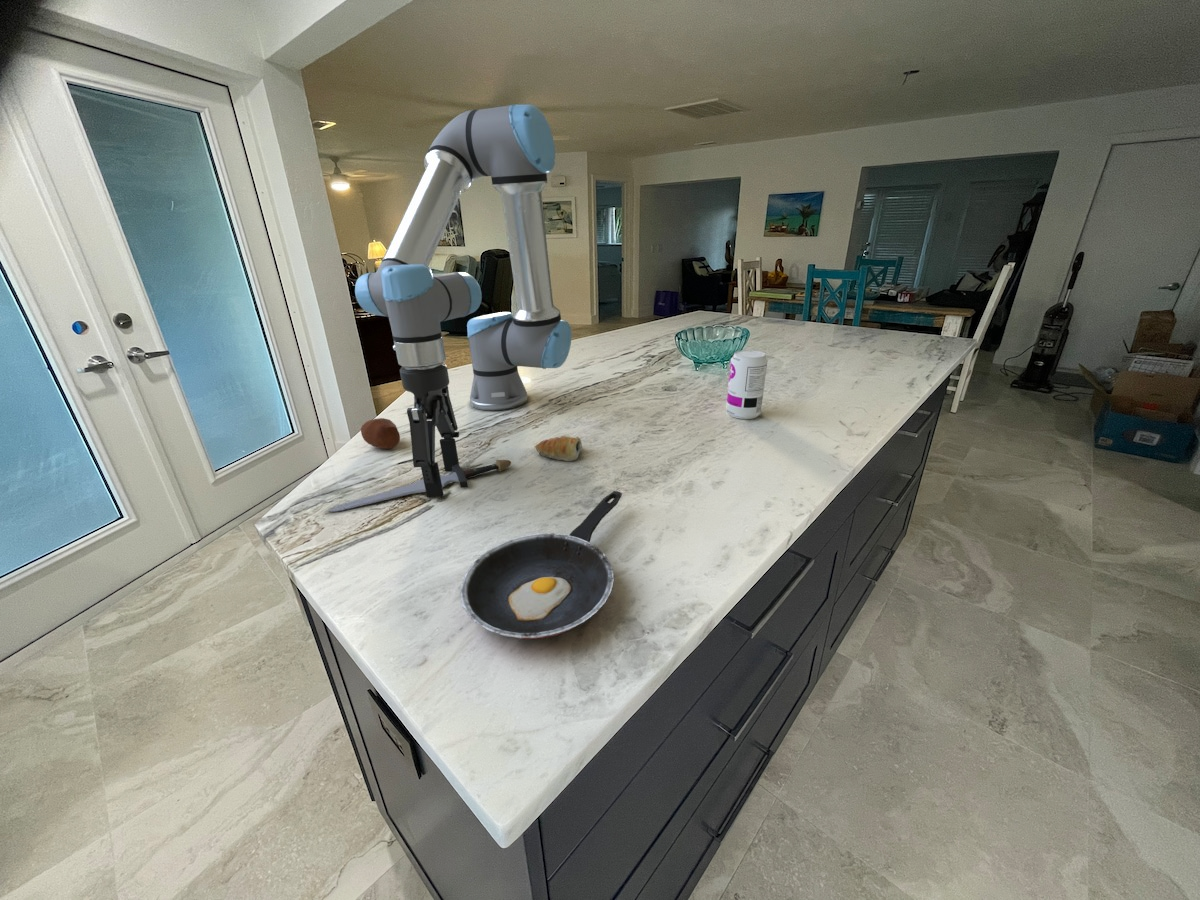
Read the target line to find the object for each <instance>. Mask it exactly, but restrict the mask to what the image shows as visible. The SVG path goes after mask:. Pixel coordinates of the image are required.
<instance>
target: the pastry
mask: <svg viewBox="0 0 1200 900" xmlns="http://www.w3.org/2000/svg"><path fill="white" fill-rule="evenodd" d="M535 449H536V452H537V453H538V454H539V455H541V456H543V457H544V458H549V459H553V460H557V461H565V462H572V461H576V460H577V459H578V457H579V455H580V452H582V450H583V443H582V440H581V438H580V437H579V436H576V437H571V436H565V435H562V436H560V437H559V436H558V437H557V436H556V437H550V438H548V439H544V440H541V441H540V442H538V443H537V444H535Z"/></svg>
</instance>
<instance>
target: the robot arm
mask: <svg viewBox="0 0 1200 900" xmlns="http://www.w3.org/2000/svg"><path fill="white" fill-rule="evenodd" d="M555 160H556V147H555V141H554V136H553V133H552V130H551V127H550V124H549V122H548V120H547V119H546V116H545V115H544V113H543V112H542V111H541V110H540V109H539V108H538V107H537V106H535V105H533V104H517V103H515V104H510V105H502V106H495V107H488V108H480V109H469V110H466V111H464V112H461V113H460V114H458V115H457V116H455V117H453V118H452V119H451V120H450V121H449V122H448V123H446V125H445V126H444V127H443V128H442V129H441V130H440V132H439V133H438V134H437V135H436V137H435V138H434V140H433V142H432V143H431V144H430V146H429V148H428V150H427V152H426V154H425V157H424V159H423V165H424V168H425V170H424V171H423V174H422V176H421V177H420V180H419V182H418V184H417V186H416V189H415V191H414V193H413V194H412V197H411V198H410V201H409V202H408V205H407V207H406V209H405V211H404V213H403V215H402V218H401V220H400V222H399V224H398V226H397V228H396V230H395V232H394V234H393V236H392V239H391V240H390V243H389V244H388V246H387V249H386V251H385V253H384V256H383V257H382V258H381V259H382V260H381V262H380V264H379V266H378V268H377V269H376V272H375V271H373V272H368V273H363V274H362V275H360V276H358V278H357V280H356V281H355V286H354V294H355V299H356V302H357V303H358V305H359V306H360V308H361V309H362V310H363V311H365V312H366V313H368V314H370V315H374V316H380V317H387V318H388V321H389V325H390V328H391V333H392V340H393V345H392V349H393V351H395V354H396V359H397V363H398V365H399V366H401V367H400V369H399V374H400V379H401V380H400V381H401V386H402V389H403V390H404V391H406V392H410V393H412V394H413V401H414V402H413V407H408V408H407V409H406V415H407V418H408V422H409V432H410V442H411V443H410V444H411V454H412V464H413V467H414V468H420V470H421V474H422V479H423V480H424V485H425V489H426V492H425V494H426V498H443V497H444V489H443V487H442V483H441V478H440V475H441V474H440V473H441V472H440V468H439V463H438V462H437V461H436V429H437V431H438V433H439V435H440V437H441V438H440V439H439V445H440V450H441V451H440V452H441V457H442V462H443V467H444V471H445V472H453V470H452V466H454V465H456V464H458V465H459V466H460V462H459V455H458V450H457V443H456V438H459V437H460V432H459V431H458V423H457V420H456V415H455V412H454V408H453V405H452V401H451V398H450V391H449V384H450V377H449V372H448V365H447V364H446V363H445V361H446V359H447V356H446V351H445V344H444V339H443V335H442V329H441V323H443V322H446V321H449V320H454V319H458V318H465V317H466V316H468V315H470V314H473V313H475V312H476V311H477V310H478V309H479V308H480V305H481V303H482V297H483V296H482V290H481V287H480V284H479V283H478V281H477V280H476V278H475V277H474V276H472V275H471V274H469V273H467V272H464V271H459V272H458V271H450V272H448V273H432V269H431V267H430V265H431V262H432V259H433V257H434V255H435V252H436V250H437V248H438V246H439V244H440V241H441V239H442V237H443V234H444V232H445V231H446V227H447V226H448V223H449V221H450V219H451V217H452V214H453V212H454V209H455V207H456V205H457V203H458V201H459V198H460V197H461V194H462V193H465V192H467V191H468V190H469V189H470V186H471V184H472V182H473V181H475V180H476V179H479V178H482V177H490V178H491V185H492V187H493V188H494V189H495V190H496V191H497V192H498V193H499V194H500V196H501V203H502V210H503V218H504V223H505V224H504V225H505V231H506V238H507V244H508V252H509V259H510V265H511V272H512V280H513V286H514V294H515V300H516V306H517V307H516V310H515V311H514V312H513V313H512V312H510V311H502V312H501V311H500V312H495V313H489V314H482V315H480V316H476V317H473V318H470V319H469V320H468V321H467V324H466V327H467V328H466V329H467V330H466V331H467V336H466V337H467V339H468V346H469V353H470V360H471V367H472V371H473V372H472V373H473V379H472V384H471V389H470V395H469V400H470V405H471V407H472V408H474V409H476V410H480V411H481V410H482V411H492V412H493V411H505V410H510V409H514V408H517V407H520V406H522V405H524V404H525V403H526V402H528V391H527V389H526V387H525V385H524V382H523V380H522V378H521V376H520V373H519V370H518V367H523V368H524V367H525V368H537V369H538V368H539V369H543V370H545V369H558V368H560V367H562V366H563V365H564V363H565V362H566V361H567V358H568V356H569V353H570V351H571V345H572V328H571V325H570V323H569V322H568V321H566V320H564V319H562V317H561V316H562V315H561V310H560V309H559V308H557V306H555V304H554V299H553V289H552V281H551V280H552V279H551V271H550V261H549V252H548V251H549V250H548V243H547V242H548V241H547V234H546V232H547V231H546V223H545V222H546V221H545V213H544V206H543V205H544V204H543V195H542V194H543V193H542V191H543V189H544V188H545V187H546V185H547V184H548V174H549V173H550V172H552V171H553V170H554V167H555V163H556V161H555Z"/></svg>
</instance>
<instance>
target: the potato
mask: <svg viewBox="0 0 1200 900" xmlns="http://www.w3.org/2000/svg"><path fill="white" fill-rule="evenodd" d="M360 434H361V438H362V439H363V441H364V442H366V443H367V444H369V445H370V446H372V447H375V448H378V449H381V450H389V449H392V448H394V447H396V446H398V444H399V443H400V441H401V435H400V432H399V430H398V427H397V425H396V424H395V423H394V422H393V421H392V420H391V419H388V418H384V417H378V418H373V419H370V420H367V421H366V422H363V424H362V425H361V428H360Z"/></svg>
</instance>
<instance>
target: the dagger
mask: <svg viewBox="0 0 1200 900" xmlns="http://www.w3.org/2000/svg"><path fill="white" fill-rule="evenodd" d="M511 465H512V461H511V460H510V459H496V460H495V462H494V463H492V464H489V465H488V464H487V465H483V466H479V467H475V468H468V469H464V470H463V468H462V467H461V466H460V464H459V465H458V464H456V465H454V466H452V470H453V471H452V473H450V474H447V475H445V474H444V475H442V474H440V478H441V483H442V488H444V487H446V486H447V485H449V484H450V483H459V488H461V489H464V488H469V484H468V483H469V482H468V479H471V478H474V477H477V476H479V475H483V474H485V473H488V472H492V471H495V470H496V471H498V472H502V471H504V470H506V469H507V468H509V467H510V466H511ZM419 493H426V489H425V485H424V480H423V478H422V479H420V480H417V481H415V482H412V483H409V484H406V485H403V486H399V487H396V488H392V489H389V490H385V491H383V492H379V493H376V494H372V495H369V496H366V497H365V496H364V497H362V498H359V499H358V498H357V499H355V500H352V501H348V502H345V503H342V504H339V505H336V506H333V507H332V508H329V510H328V512H330V513H331V512H332V513H333V512H341V511H345V510H350V509H353V508H359V507H362V506H366V505H370V504H375V503H379V502H385V501H388V500H392V499H397V498H400V497H403V496H404V497H405V496H409V495H414V494H419Z"/></svg>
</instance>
